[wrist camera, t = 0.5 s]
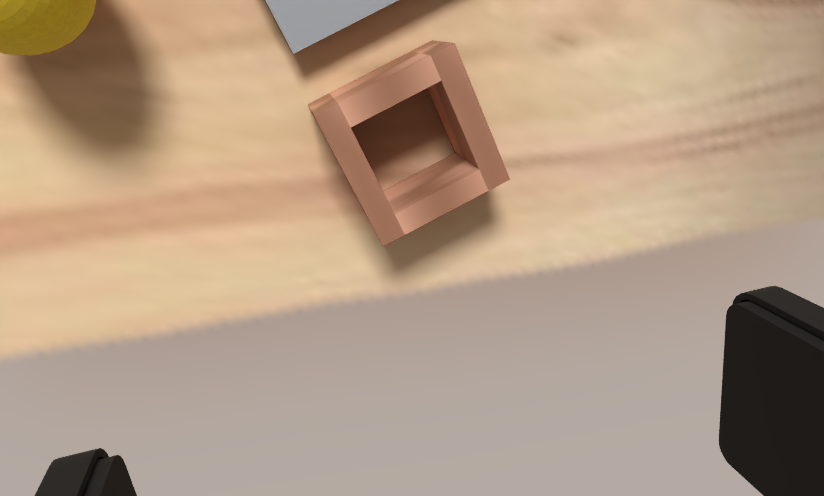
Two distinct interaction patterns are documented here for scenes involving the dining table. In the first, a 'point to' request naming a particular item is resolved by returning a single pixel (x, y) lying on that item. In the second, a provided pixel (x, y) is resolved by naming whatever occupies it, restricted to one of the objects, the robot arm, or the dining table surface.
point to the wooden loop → (437, 184)
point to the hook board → (319, 18)
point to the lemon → (41, 24)
